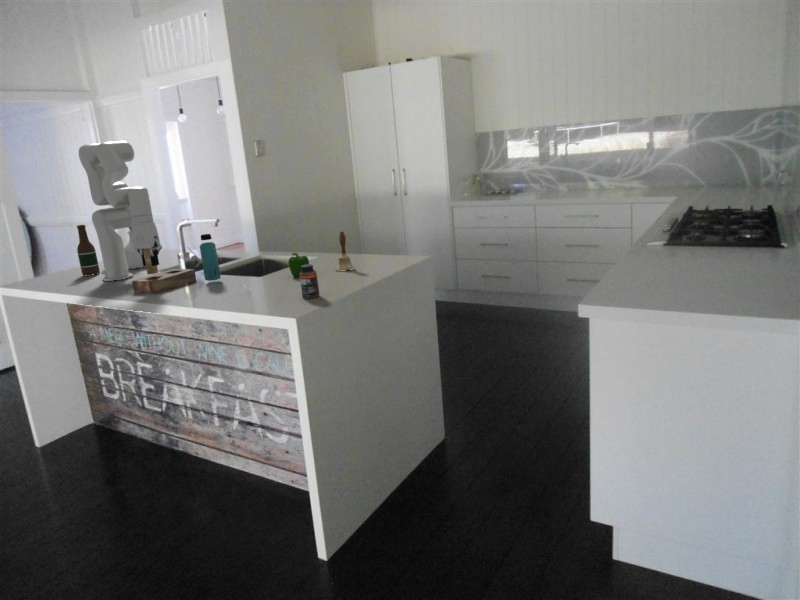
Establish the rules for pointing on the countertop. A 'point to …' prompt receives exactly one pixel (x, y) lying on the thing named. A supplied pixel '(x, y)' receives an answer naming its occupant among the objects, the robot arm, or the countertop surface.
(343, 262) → the hand bell
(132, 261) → the soap bottle
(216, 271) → the beverage bottle
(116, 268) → the robot arm
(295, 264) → the bell pepper
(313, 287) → the supplement bottle
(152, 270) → the pin
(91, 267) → the beer bottle
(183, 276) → the bore block
